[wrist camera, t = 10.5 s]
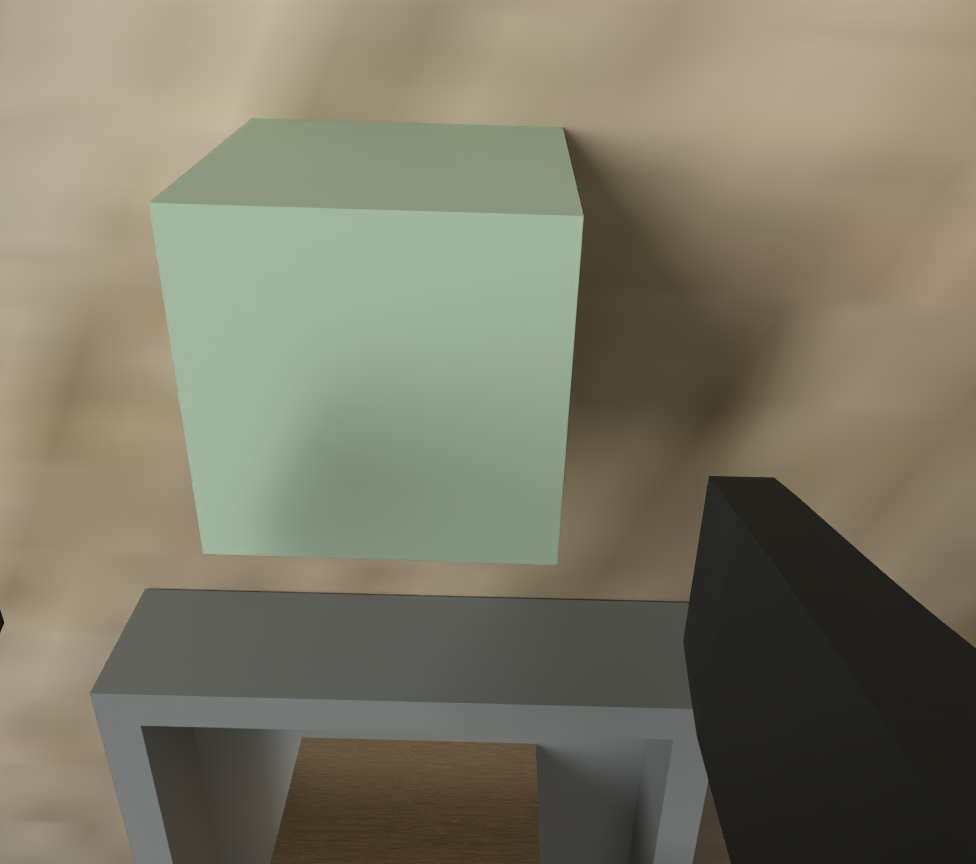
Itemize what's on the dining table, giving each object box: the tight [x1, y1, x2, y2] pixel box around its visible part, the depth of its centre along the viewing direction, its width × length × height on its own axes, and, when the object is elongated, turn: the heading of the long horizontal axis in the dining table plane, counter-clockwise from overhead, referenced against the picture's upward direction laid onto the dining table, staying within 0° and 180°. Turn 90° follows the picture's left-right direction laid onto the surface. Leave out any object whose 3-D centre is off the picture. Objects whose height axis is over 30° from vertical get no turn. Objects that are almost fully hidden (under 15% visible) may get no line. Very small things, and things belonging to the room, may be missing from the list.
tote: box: [90, 589, 708, 864], centre depth 21 cm, size 12×12×3 cm
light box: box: [149, 118, 584, 565], centre depth 14 cm, size 5×5×5 cm
